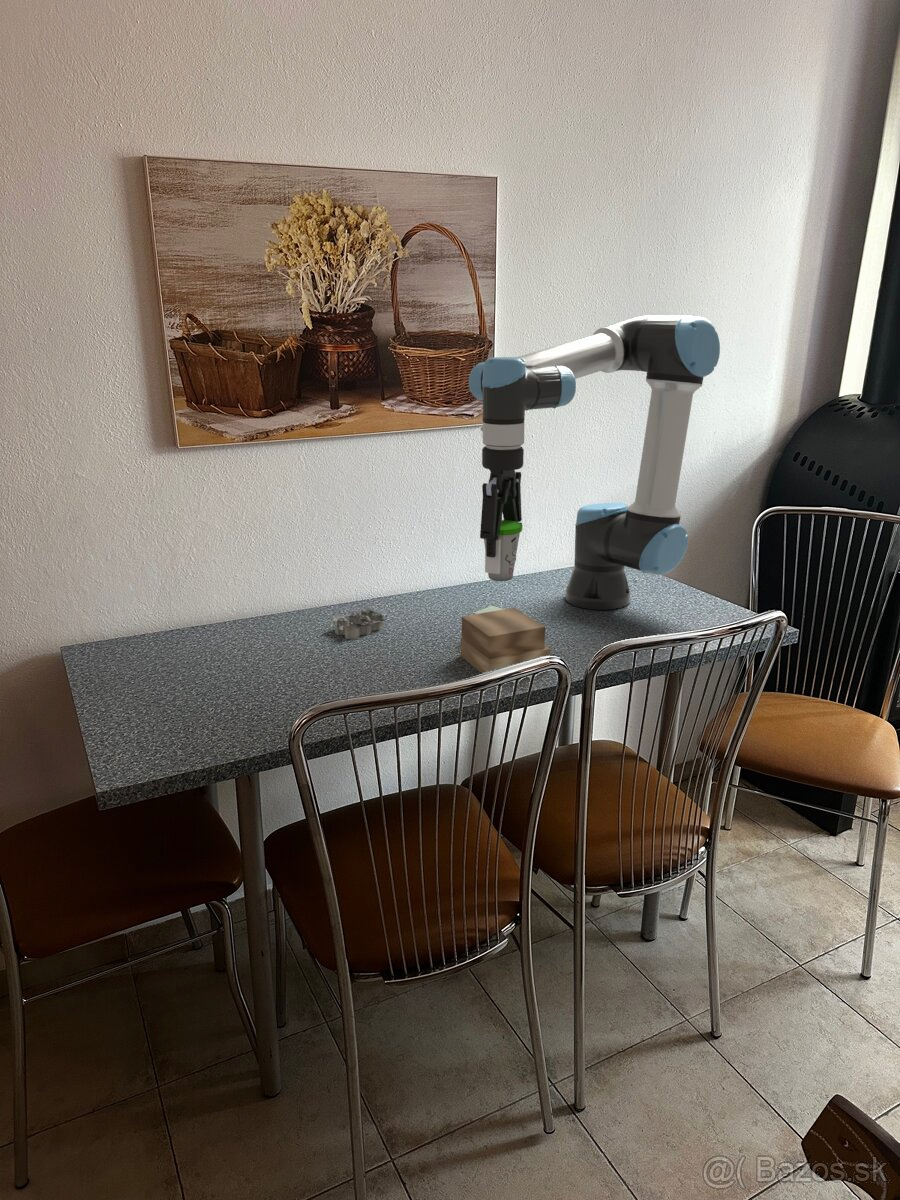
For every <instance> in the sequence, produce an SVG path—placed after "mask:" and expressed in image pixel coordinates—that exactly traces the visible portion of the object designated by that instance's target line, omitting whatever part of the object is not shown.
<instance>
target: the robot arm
mask: <svg viewBox="0 0 900 1200" xmlns="http://www.w3.org/2000/svg"><path fill="white" fill-rule="evenodd" d="M720 354H721V344H720V337H719V334H718V332H717V330H716V327H715V326H714V325H713V323H712V322H711V321H710V320H708V319H707V318H705V317H702V316H693V315H652V314H651V315H642V316H635V317H633V318H630V319H629V318H628V319H625V320H622V321H619V322H616V323H613V324H610V325H607V326H603V327H600V328H597V329H596V330H595V331H594V332H593V334H591V335H590V336H586V337H583V338H579V339H575V340H573V341H568V342H565V343H562V344H558V345H554V346H551V347H548V348H545V349H540V350H537V351H533V352H530V353H527V354H523V355H520V356H513V357H512V356H499V357H498V356H497V357H495V356H494V357H489V358H487V359H485V361H483V362H479V363H477V364H476V365H474V366H473V368H471V371H470V373H469V376H468V387H469V391H470V393H471V394H472V396H473V397H474V398H475V399H477V400H478V401H482V426H481V427H480V431H481V432H482V444H483V445H484V446H483V448H482V449H481V465H482V467H483V468H484V469H486V470H489V471H490V473H489V479H488V482H487V483H485V482H483V483H482V485H481V487H482V488H481V489H482V490H481V491H482V505H481V518H480V533H479V538H480V539H482V540H484V539H485V544H484V550H485V551H484V555H485V556H484V560H485V561H484V573H486V574H488V573H494V574H499V573H500V550H501V539H498V538H499V531H500V525H501V519H502V520H510V521H515V522H519V523H520V524H522V525H523V522H522V520H523V519H522V518H523V517H522V492H521V491H522V490H521V483H522V481H521V480H522V472H521V471H516V470H520V469H522V468H523V467H524V453H525V451H524V448H523V445H524V444H525V415H526V413H525V412H526V411H531V410H542V409H551V408H552V409H556V408H558V407H560V408H561V407H563V406H566V405H569V404H570V403H571V402H572V401H573V399H574V397H575V394H576V392H577V389H576V388H577V386H576V385H577V381H576V380H577V379H579V378H582V377H585V376H586V377H587V376H589V375H592V374H595V373H598V372H602V373H605V374H609V373H614V372H618V371H619V372H620V371H632V372H633V371H634V372H635V371H637V372H645V373H646V377H645V381H646V383H647V384H648V386H649V387H650V389H651V393H650V399H649V407H648V412H647V420H646V426H645V431H644V432H645V434H644V439H643V447H642V452H641V453H642V454H641V460H640V464H639V465H640V466H639V472H638V480H637V486H636V493H635V498H634V502H633V503H631V504H630V505H629V506H628V504H627V503H626V504H625V503H621V502H601V503H592V504H587V505H583V506H582V507H579V509H578V510H577V512H576V519H575V520H576V522H575V532H574V533H575V537H574V538H575V539H574V540H575V541H574V568H573V570H572V573H571V576H570V578H569V581H568V584H567V586H566V589H565V600H566V602H568V604H571V605H572V606H575V607H577V608H580V609H581V608H583V609H587V610H594V611H595V610H596V611H599V610H600V611H605V610H607V611H609V609H611V610H617V609H616V608H618V609H621V608H624V607H627V606H628V605H629V604H630V602H631V590H630V587H629V583H628V579H627V576H626V572H625V567H626V568H630V569H632V570H633V569H634V570H637V571H640V572H642V573H643V574H651V575H656V576H663V575H666V574H669V573H671V572H672V571H674V570H675V568H677V566H678V565H679V564H680V563H681V562H682V560H683V558H684V556H685V554H686V552H687V548H688V544H689V535H688V534H687V533H688V531H687V530H686V528H685V527H684V526H683V525H681V522H680V521H681V516H682V515H681V513H680V511H679V510H678V509H677V507H676V503H677V497H678V489H679V483H680V478H681V473H682V472H681V471H682V465H683V459H684V452H685V447H686V440H687V434H688V428H689V421H690V416H691V410H692V409H691V408H692V405H693V403H692V402H693V396H694V394H695V392H696V391H698V390H699V389H700V388H701V387H702V386H703V381H704V378H705V377H707V376H710V375H711V374H712V373H713V372H714V370H715V368H716V367H717V366H718V364H719V363H718V362H719V359H720ZM516 561H517V559H516V560H515V563H516ZM623 606H624V607H623Z"/></svg>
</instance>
